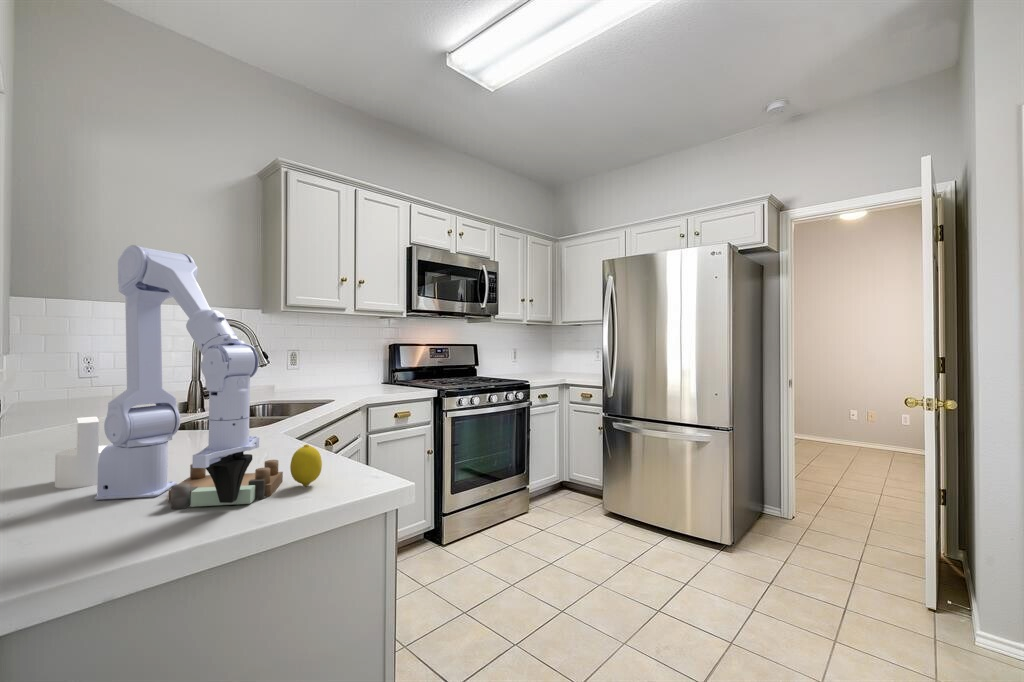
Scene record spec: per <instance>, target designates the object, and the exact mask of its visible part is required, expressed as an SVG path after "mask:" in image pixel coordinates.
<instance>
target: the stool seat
mask: <svg viewBox="0 0 1024 682" xmlns="http://www.w3.org/2000/svg"><path fill="white" fill-rule="evenodd" d="M189 467H190V468H189V474H190V475H189V477H187V478H186V479H184V480H183V481H181V482H180V483H177V484H176V485H173V486H171V488H169V489H168V499H167V500H168V503H170V509H171V510H182V509H187V508H189V507H191V492H192V491H193V490H195V489H196V488H201V487H215V485H214V482H213V480H212V478H211V476H210V474H209V475H208V474H207V475H206V471H207V470H206V468H192V463H191V464H190V466H189ZM283 475H284V471H279V460H278V459H268V460H264V467H258V468H256V469H255V472H245V474H244V477H243V480H242V483H241V486H245V485H255V499H254V500H253V501H255V500H264V499H265V497H271V496H272V495H273V494H274V492H276V491H277V490H278V488H279V487H280V485H281V484H282V483H283V482H284V481H283V479H284V478H283Z"/></svg>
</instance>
